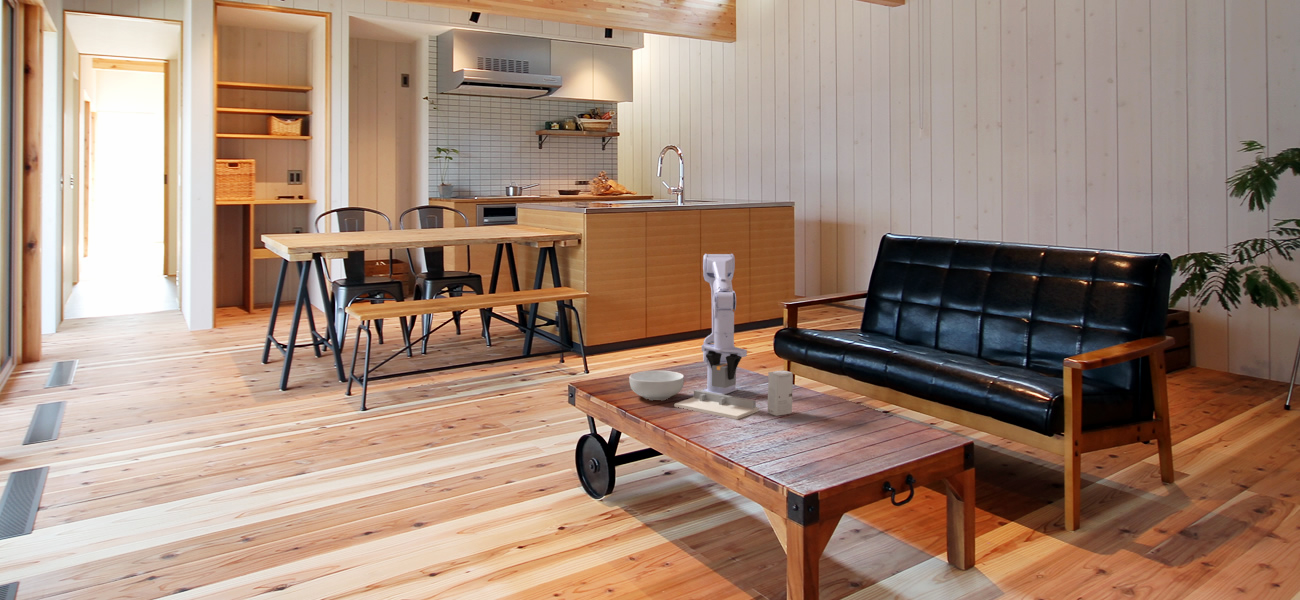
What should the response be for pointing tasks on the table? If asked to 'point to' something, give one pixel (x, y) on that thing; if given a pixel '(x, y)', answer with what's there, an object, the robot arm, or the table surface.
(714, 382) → the block
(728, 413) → the rail base
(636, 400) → the table surface
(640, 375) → the cereal bowl
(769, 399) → the skincare box
